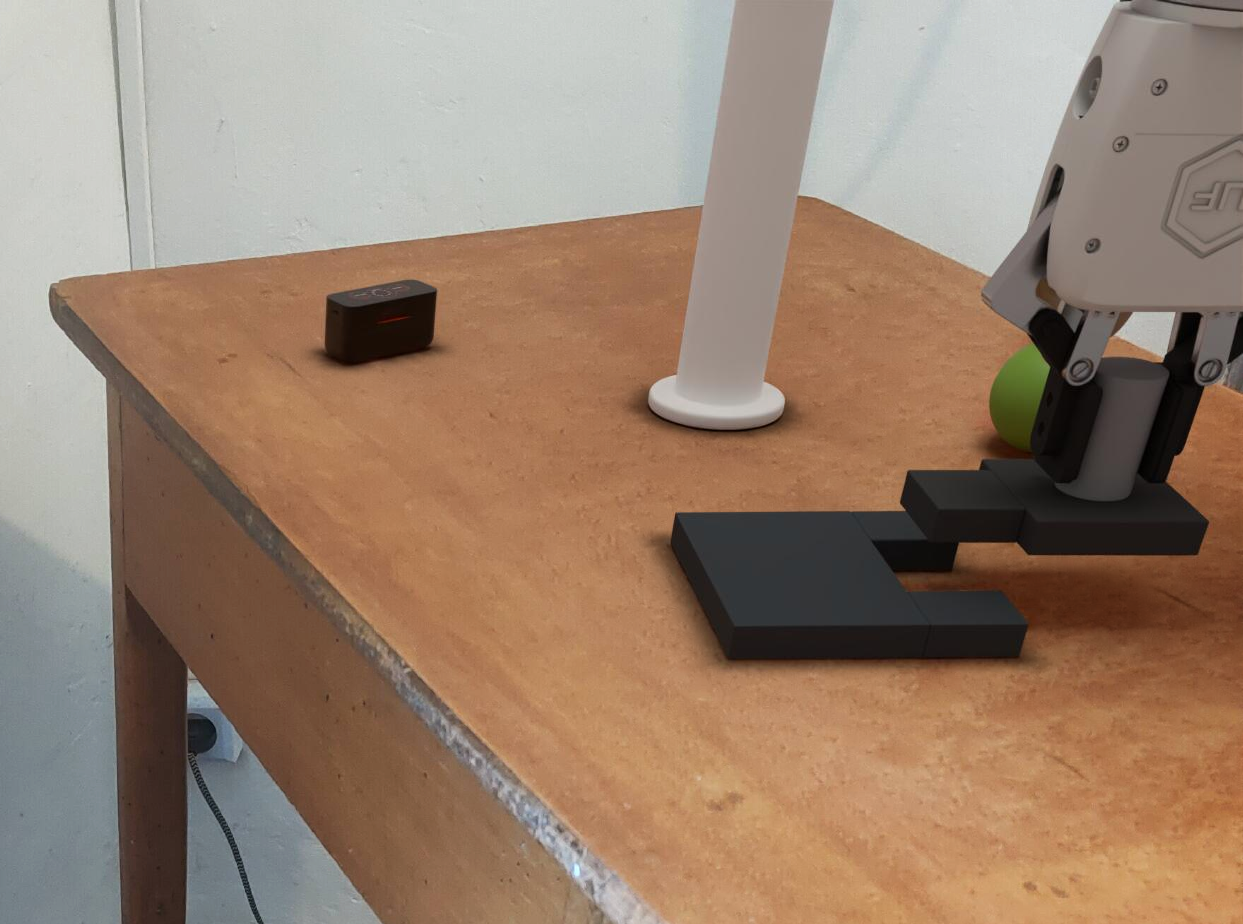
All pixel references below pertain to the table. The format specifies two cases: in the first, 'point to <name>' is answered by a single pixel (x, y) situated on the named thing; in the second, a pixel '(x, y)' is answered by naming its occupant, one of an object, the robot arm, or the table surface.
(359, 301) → the black bluetooth speaker
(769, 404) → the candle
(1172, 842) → the table surface
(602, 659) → the table surface
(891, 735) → the table surface
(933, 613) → the dock pad
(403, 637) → the table surface
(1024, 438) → the snail figurine
